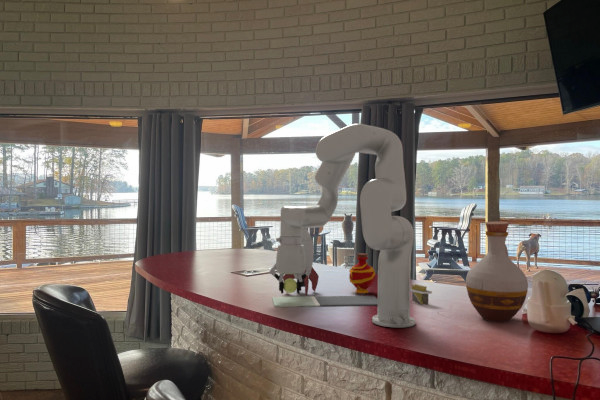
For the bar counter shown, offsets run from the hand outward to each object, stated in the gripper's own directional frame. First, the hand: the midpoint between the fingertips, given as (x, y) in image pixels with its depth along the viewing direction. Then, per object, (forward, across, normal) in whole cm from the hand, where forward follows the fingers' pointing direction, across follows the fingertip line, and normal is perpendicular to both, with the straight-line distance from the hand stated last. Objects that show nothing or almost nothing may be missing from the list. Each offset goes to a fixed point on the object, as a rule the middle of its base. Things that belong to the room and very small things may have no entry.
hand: (290, 292), depth 170 cm
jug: (+3, +62, -27) cm, 68 cm away
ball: (-2, 0, 0) cm, 2 cm away
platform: (+4, +46, -4) cm, 46 cm away
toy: (+4, +6, +17) cm, 18 cm away
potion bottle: (+4, +30, +17) cm, 35 cm away
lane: (+3, +13, 0) cm, 14 cm away
